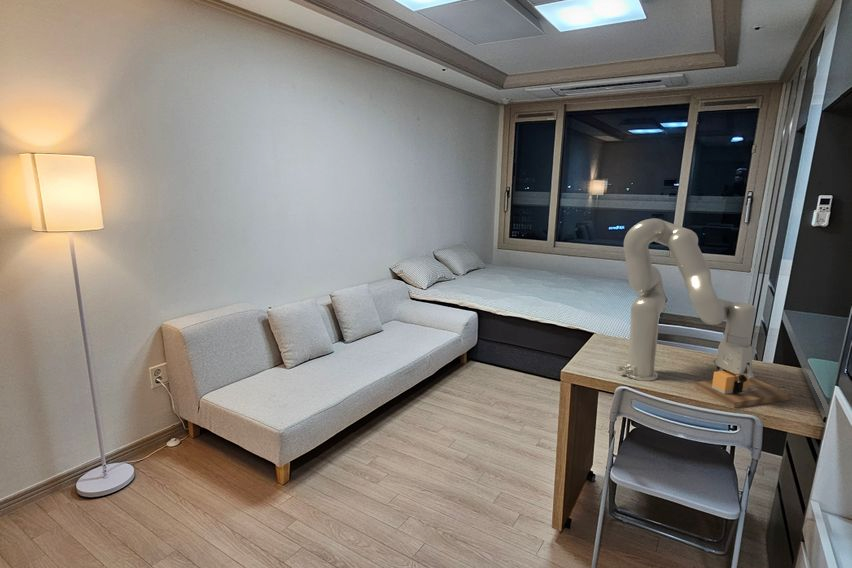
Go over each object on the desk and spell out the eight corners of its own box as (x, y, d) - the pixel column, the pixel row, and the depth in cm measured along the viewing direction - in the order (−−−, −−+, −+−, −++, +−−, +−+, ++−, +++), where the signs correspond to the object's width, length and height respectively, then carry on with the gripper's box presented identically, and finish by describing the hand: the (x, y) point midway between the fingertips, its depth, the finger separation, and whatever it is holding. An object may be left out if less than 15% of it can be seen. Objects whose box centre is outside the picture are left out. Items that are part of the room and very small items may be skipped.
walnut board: (733, 408, 146) (734, 402, 145) (694, 387, 161) (695, 382, 161) (790, 399, 151) (791, 394, 151) (747, 380, 167) (748, 375, 166)
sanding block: (724, 394, 151) (726, 377, 150) (711, 387, 156) (713, 371, 155) (747, 390, 153) (750, 374, 152) (734, 384, 158) (737, 368, 157)
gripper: (707, 332, 158) (700, 379, 162) (751, 348, 142) (743, 400, 146) (724, 330, 160) (717, 377, 164) (770, 346, 143) (761, 398, 147)
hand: (730, 388), depth 155 cm, fingers closed on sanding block, 5 cm apart
